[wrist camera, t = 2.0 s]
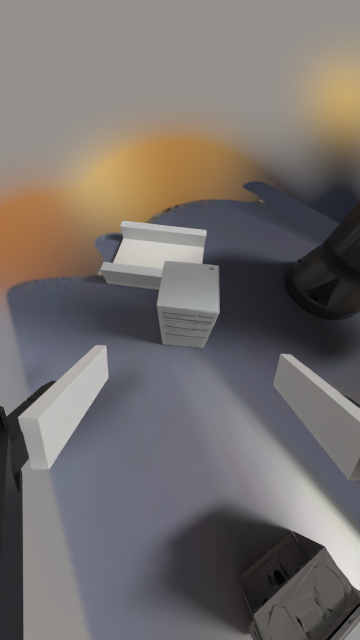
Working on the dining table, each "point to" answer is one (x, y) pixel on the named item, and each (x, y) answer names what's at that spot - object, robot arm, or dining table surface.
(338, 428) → the robot arm
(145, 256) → the tray
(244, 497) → the dining table surface
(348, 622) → the electrical switch
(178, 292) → the supplement box
